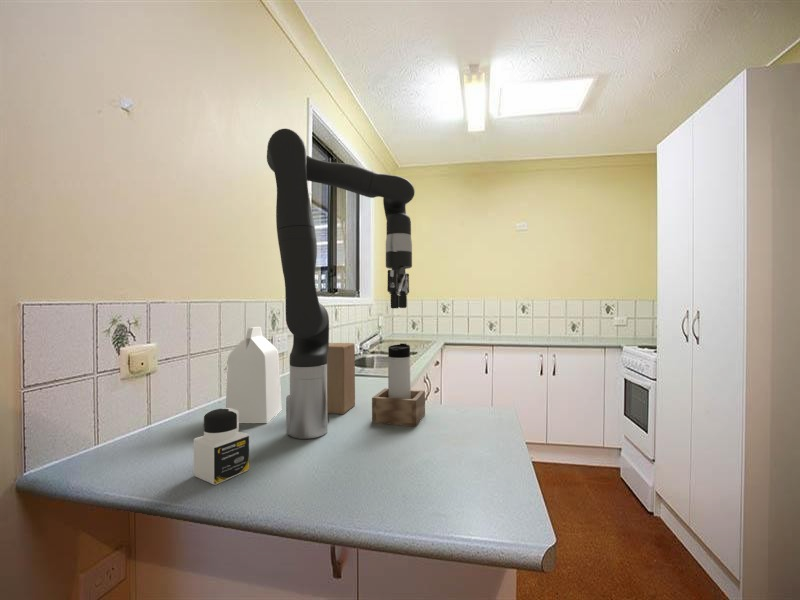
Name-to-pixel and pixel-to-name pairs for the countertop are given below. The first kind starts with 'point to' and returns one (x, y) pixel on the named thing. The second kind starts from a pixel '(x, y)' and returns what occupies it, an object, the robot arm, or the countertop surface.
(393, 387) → the travel mug
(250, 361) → the milk
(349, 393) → the wooden block
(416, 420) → the open wooden box
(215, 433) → the medicine bottle
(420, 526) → the countertop surface
